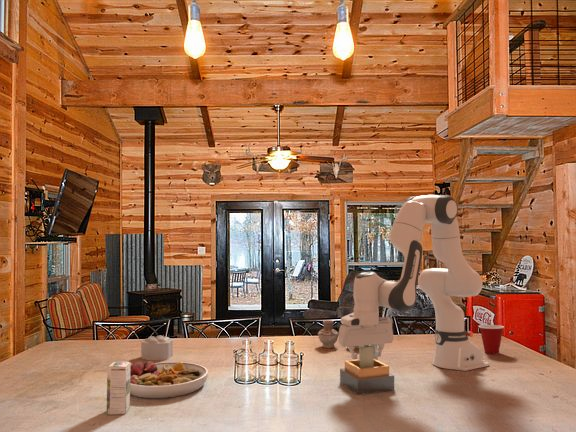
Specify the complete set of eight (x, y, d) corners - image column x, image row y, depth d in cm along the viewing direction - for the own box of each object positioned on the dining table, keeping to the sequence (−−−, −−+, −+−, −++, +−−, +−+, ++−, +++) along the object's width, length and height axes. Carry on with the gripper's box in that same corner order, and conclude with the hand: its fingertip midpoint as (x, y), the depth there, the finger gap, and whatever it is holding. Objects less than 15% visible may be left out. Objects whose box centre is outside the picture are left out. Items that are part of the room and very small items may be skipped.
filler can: (369, 369, 182) (369, 338, 182) (376, 373, 177) (376, 341, 177) (357, 370, 180) (356, 339, 181) (363, 374, 176) (363, 342, 176)
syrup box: (111, 408, 158) (111, 361, 158) (130, 407, 158) (130, 361, 159) (106, 415, 152) (106, 366, 153) (126, 414, 153) (126, 366, 153)
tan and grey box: (374, 378, 188) (374, 356, 188) (394, 390, 174) (394, 366, 175) (340, 382, 183) (340, 360, 183) (357, 394, 170) (357, 370, 170)
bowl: (222, 379, 189) (222, 357, 189) (180, 406, 161) (180, 381, 161) (152, 372, 199) (152, 351, 199) (101, 396, 170) (101, 372, 170)
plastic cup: (496, 349, 232) (495, 322, 232) (509, 354, 221) (509, 327, 222) (473, 349, 230) (473, 323, 231) (486, 355, 220) (486, 328, 220)
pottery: (318, 344, 244) (317, 319, 244) (370, 344, 242) (370, 319, 242) (317, 349, 233) (317, 323, 233) (372, 350, 231) (372, 324, 231)
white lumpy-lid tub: (166, 360, 214) (166, 340, 215) (137, 360, 215) (137, 339, 216) (174, 354, 225) (174, 334, 225) (146, 354, 226) (146, 334, 226)
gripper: (387, 314, 186) (387, 352, 185) (336, 318, 179) (336, 357, 179) (396, 317, 180) (396, 357, 179) (344, 321, 173) (344, 362, 173)
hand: (366, 357), depth 179 cm, fingers open, 8 cm apart
